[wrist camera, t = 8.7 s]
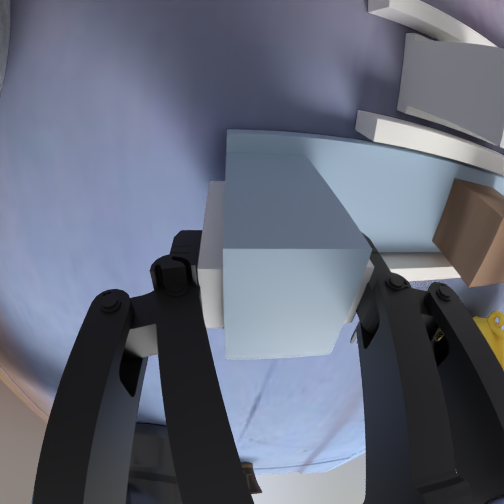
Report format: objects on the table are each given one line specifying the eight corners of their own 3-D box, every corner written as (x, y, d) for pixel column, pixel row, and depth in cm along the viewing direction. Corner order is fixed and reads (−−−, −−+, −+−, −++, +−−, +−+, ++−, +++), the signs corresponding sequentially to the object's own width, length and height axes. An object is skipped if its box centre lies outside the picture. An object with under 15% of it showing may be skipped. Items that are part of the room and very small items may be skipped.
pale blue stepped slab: (225, 242, 18) (226, 372, 11) (227, 129, 14) (222, 212, 6) (477, 245, 20) (532, 316, 12) (504, 176, 15) (577, 238, 8)
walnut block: (431, 240, 18) (468, 287, 14) (454, 178, 15) (503, 217, 11) (472, 242, 18) (506, 282, 14) (493, 187, 15) (535, 223, 11)
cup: (243, 470, 65) (243, 498, 56) (221, 463, 61) (220, 494, 52) (267, 464, 62) (269, 495, 53) (247, 457, 58) (247, 491, 50)
